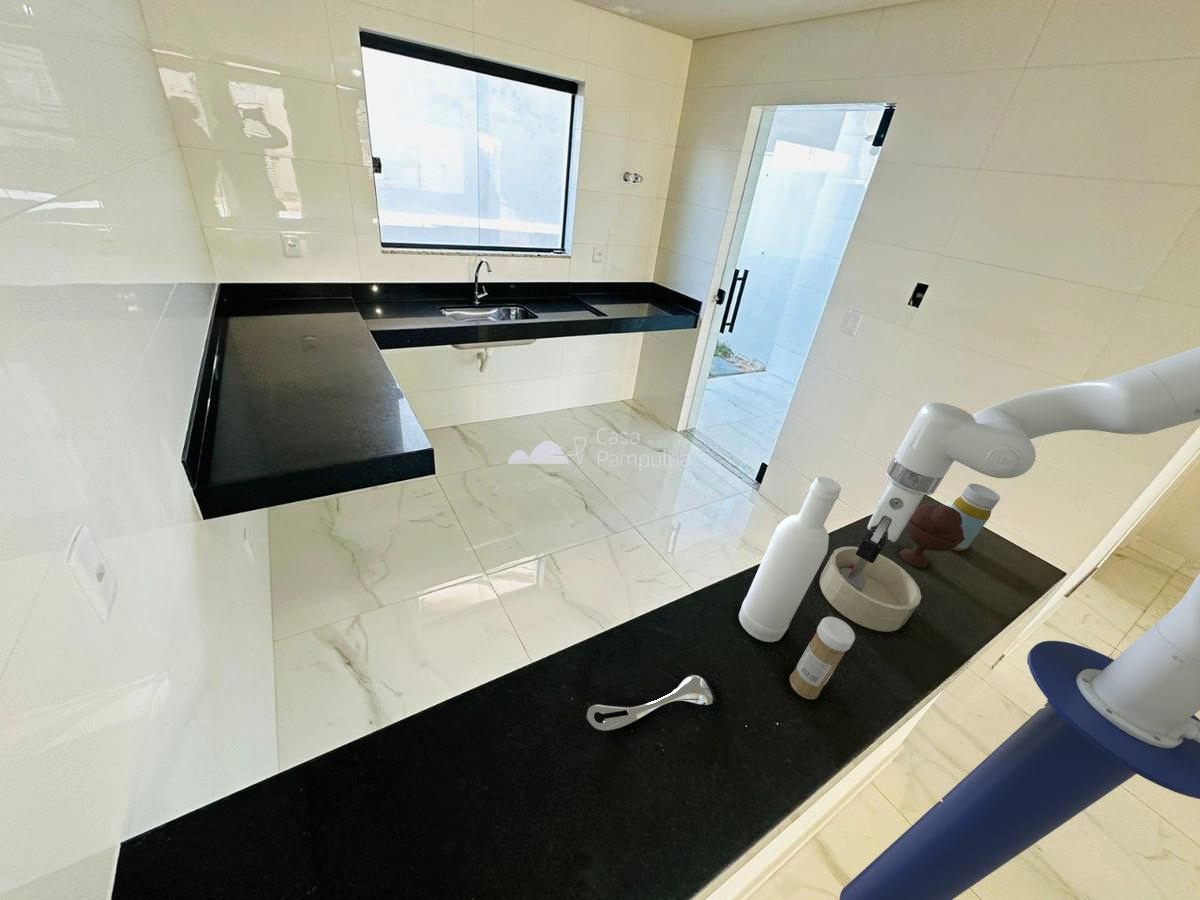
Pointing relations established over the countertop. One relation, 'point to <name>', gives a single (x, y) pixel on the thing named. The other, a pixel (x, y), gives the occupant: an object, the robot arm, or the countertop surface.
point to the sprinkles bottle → (821, 657)
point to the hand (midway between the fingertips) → (866, 555)
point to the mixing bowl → (871, 591)
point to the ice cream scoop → (654, 703)
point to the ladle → (856, 574)
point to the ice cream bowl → (932, 532)
